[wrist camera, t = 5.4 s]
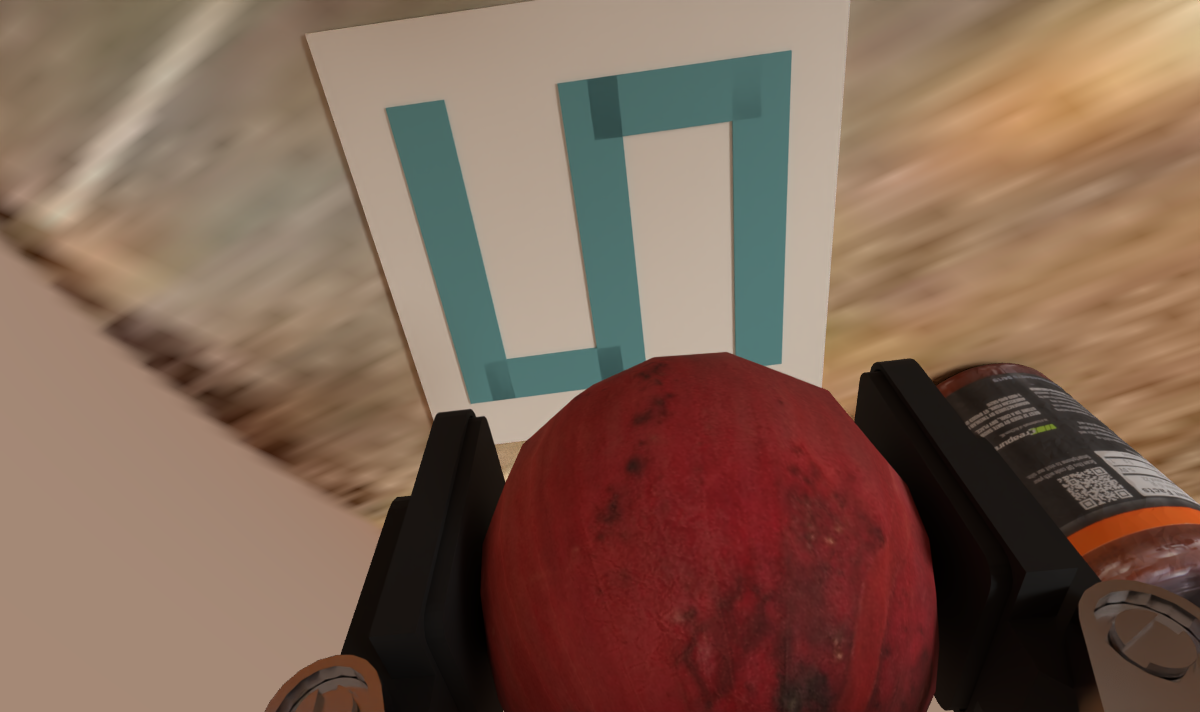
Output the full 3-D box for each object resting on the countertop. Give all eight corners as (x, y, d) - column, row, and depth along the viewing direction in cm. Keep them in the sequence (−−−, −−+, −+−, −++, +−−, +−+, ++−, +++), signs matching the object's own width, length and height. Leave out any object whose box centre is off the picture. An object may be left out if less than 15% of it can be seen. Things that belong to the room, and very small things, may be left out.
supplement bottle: (952, 500, 27) (1170, 805, 17) (861, 434, 25) (1052, 740, 15) (1083, 407, 24) (1421, 700, 15) (995, 325, 22) (1323, 604, 13)
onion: (576, 209, 10) (566, 813, 3) (889, 325, 11) (1367, 932, 4) (472, 472, 13) (350, 1074, 6) (729, 539, 14) (865, 1096, 7)
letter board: (307, 33, 16) (303, 34, 16) (850, -47, 16) (855, -47, 16) (444, 447, 24) (443, 452, 24) (818, 399, 23) (821, 404, 23)
